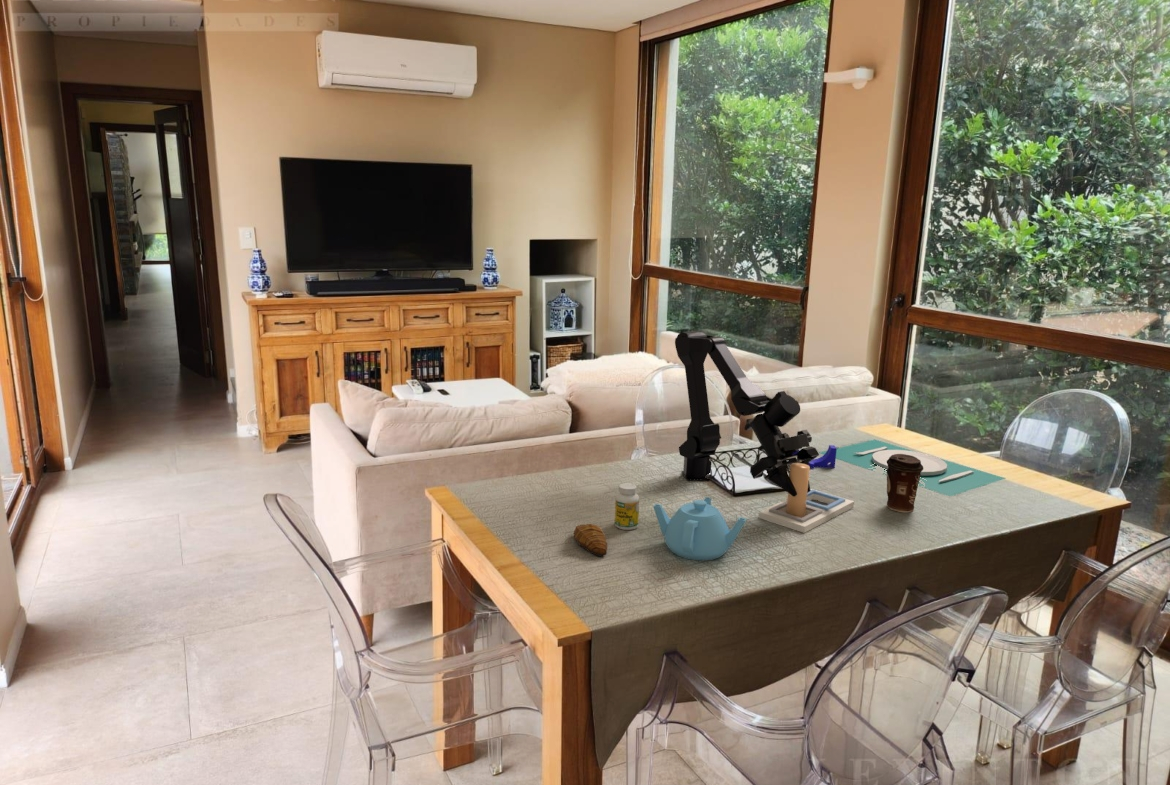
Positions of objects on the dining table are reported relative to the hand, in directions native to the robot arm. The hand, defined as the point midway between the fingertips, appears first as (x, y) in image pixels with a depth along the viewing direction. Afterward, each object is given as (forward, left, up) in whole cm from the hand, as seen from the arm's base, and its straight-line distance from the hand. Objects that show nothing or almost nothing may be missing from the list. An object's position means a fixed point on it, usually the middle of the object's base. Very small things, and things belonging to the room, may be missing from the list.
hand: (802, 493), depth 190 cm
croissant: (-51, -11, -7) cm, 53 cm away
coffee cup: (+28, +6, -7) cm, 30 cm away
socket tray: (+4, +5, -7) cm, 9 cm away
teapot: (-29, -14, -7) cm, 33 cm away
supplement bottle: (-42, -1, -7) cm, 42 cm away
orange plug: (-1, +1, -7) cm, 7 cm away
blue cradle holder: (+20, +39, -7) cm, 44 cm away
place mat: (+49, +38, -8) cm, 62 cm away
